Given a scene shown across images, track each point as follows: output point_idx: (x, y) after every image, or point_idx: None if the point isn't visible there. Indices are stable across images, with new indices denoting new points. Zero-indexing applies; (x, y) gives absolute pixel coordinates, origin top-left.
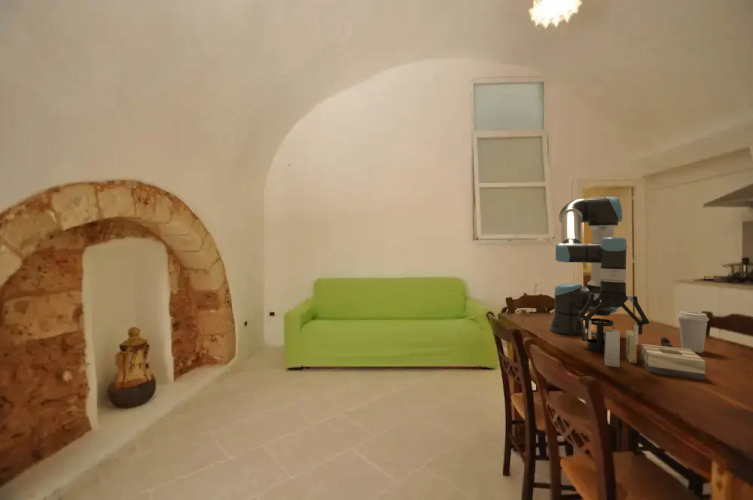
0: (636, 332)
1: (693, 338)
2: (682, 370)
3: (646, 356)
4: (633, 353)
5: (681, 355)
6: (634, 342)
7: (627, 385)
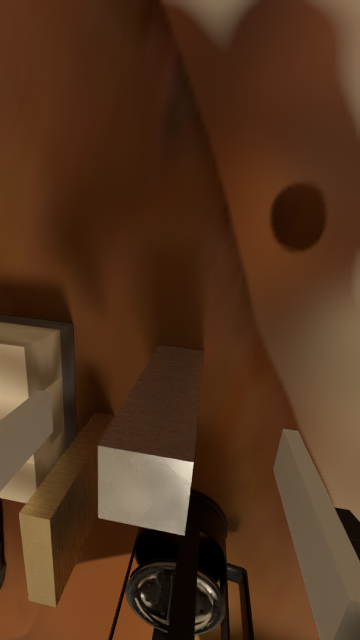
0: None
1: None
2: None
3: (46, 387)
4: (86, 437)
5: None
6: (50, 420)
7: (177, 110)
